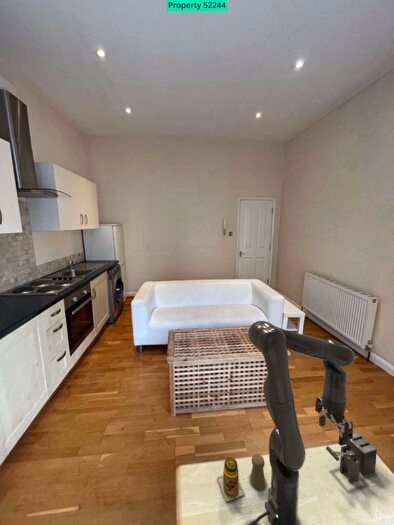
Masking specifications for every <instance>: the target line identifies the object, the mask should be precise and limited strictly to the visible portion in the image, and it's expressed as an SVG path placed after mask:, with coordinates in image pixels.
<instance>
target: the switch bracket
mask: <svg viewBox="0 0 394 525" xmlns="http://www.w3.org/2000/svg"><path fill="white" fill-rule="evenodd" d="M346 450H351V446H350V445H343V446H340V452H346ZM359 467H360V455H359V454H358V453H357V454H354V455H351V456H350V460H349V459H348V458H347V457H342V456H339V472H340V474H344V473H348V480H347V482H348V483H349V484H350V485H351V484H353V483H356V482H359V480H360V473H359Z"/></svg>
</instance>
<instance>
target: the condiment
mask: <svg viewBox="0 0 394 525" xmlns="http://www.w3.org/2000/svg"><path fill="white" fill-rule="evenodd" d="M223 464H224V466H223V470H222V477H220V478H218V480H217V481H218V483H219V485H220V488H221V491H222V494H223V496H224V500H225V501H226V502H230V501H233V500H235V499H238V498H240V497H242V496H244V493H243V491H242V488H241V487H240V484H239V472H240V471H239V466H238V461H237V460H236V459H235V458H233V457H231V456H229V457H227V458H225V460H224V463H223Z"/></svg>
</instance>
